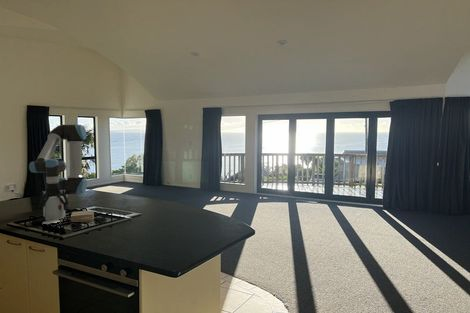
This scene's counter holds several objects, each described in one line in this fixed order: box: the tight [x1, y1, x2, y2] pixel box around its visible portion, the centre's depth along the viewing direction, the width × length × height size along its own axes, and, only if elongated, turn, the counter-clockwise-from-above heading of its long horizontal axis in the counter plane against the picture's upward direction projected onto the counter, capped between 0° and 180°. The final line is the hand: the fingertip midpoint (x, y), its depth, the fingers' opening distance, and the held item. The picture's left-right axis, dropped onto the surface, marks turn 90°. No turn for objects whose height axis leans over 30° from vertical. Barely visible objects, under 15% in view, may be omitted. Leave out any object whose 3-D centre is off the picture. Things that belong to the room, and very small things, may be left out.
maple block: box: [70, 210, 95, 223], centre depth 224 cm, size 13×13×5 cm
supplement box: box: [44, 196, 66, 221], centre depth 227 cm, size 9×9×15 cm
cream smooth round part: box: [42, 220, 61, 225], centre depth 216 cm, size 10×10×1 cm
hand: (54, 215), depth 225 cm, fingers open, 10 cm apart
